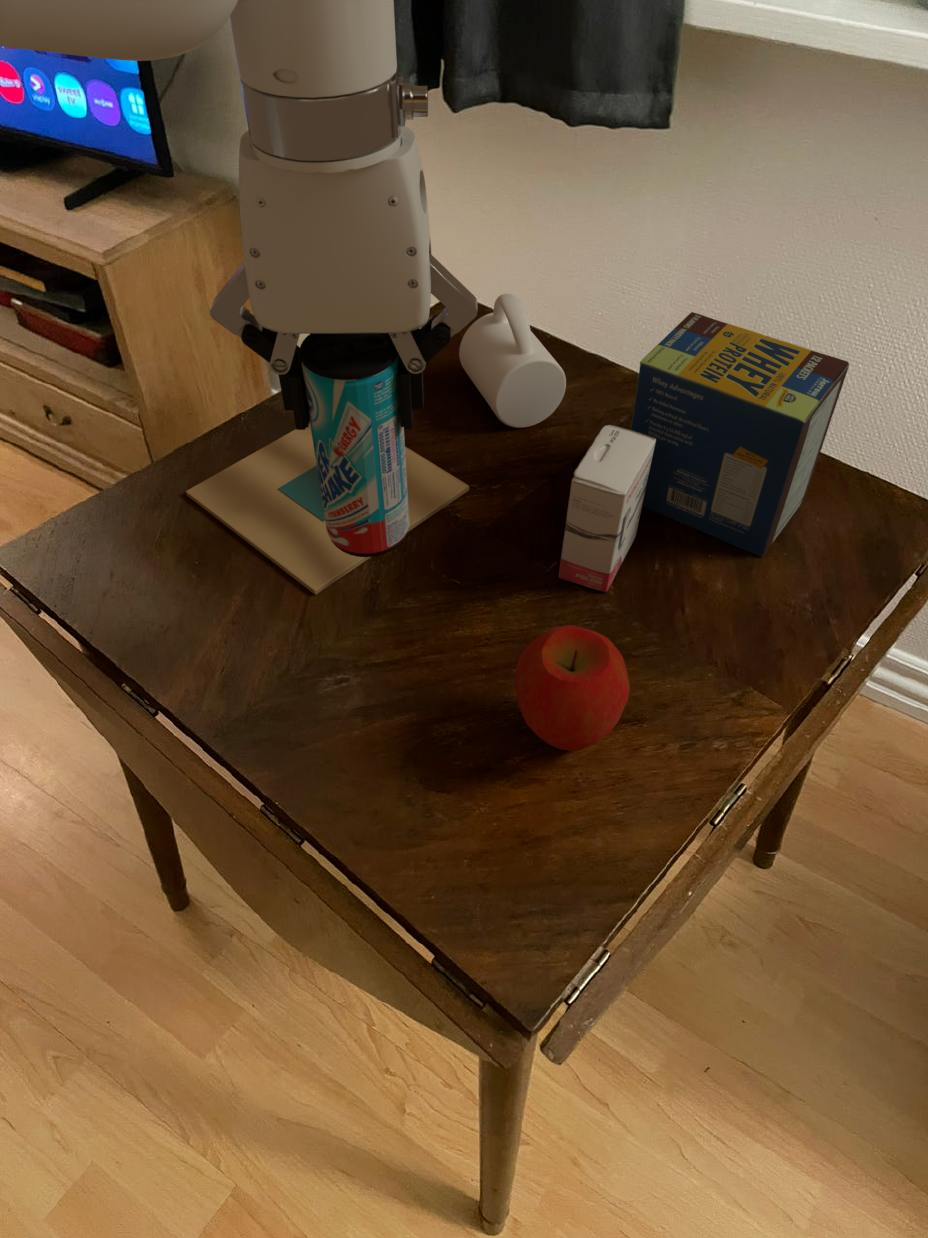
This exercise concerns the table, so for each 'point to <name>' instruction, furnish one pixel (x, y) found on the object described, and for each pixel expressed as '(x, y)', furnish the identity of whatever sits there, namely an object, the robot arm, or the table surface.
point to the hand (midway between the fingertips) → (356, 414)
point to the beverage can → (357, 439)
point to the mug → (512, 365)
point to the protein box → (733, 428)
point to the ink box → (605, 506)
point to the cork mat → (304, 506)
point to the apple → (571, 686)
